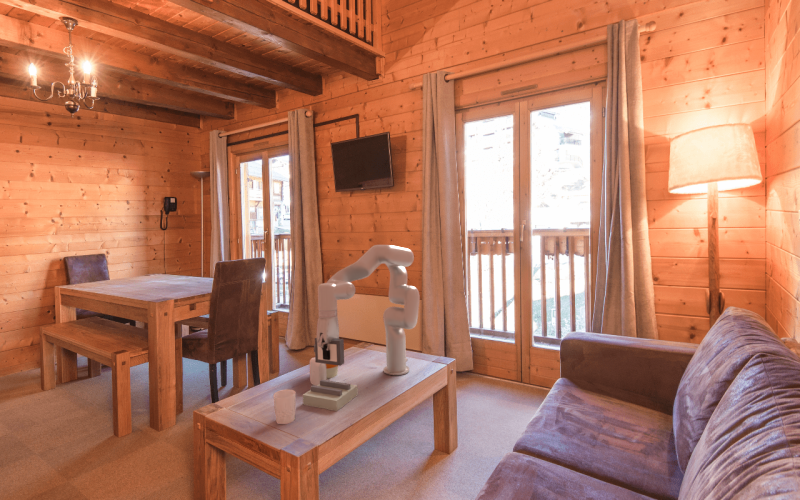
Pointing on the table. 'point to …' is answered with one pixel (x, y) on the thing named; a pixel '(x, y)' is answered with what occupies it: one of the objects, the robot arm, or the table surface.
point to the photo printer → (317, 372)
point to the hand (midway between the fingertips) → (329, 357)
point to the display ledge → (330, 395)
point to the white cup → (285, 406)
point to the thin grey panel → (331, 352)
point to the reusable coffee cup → (330, 369)
